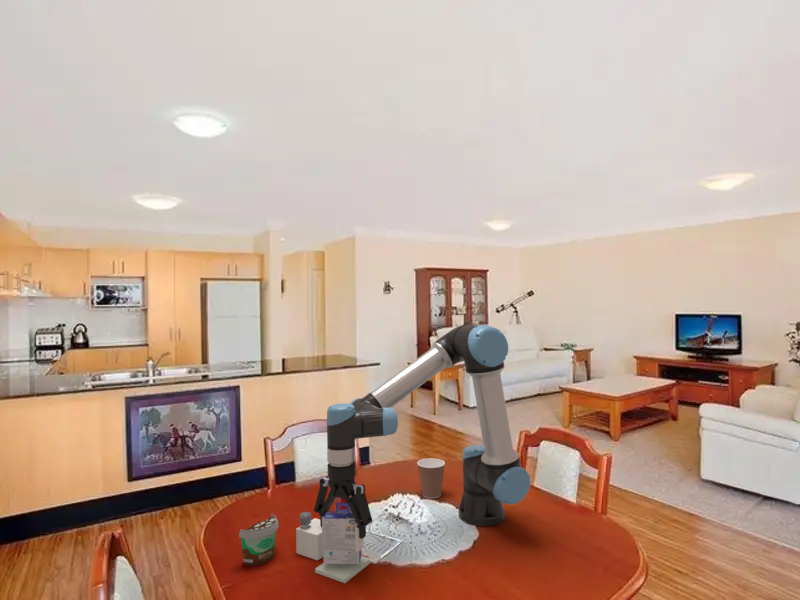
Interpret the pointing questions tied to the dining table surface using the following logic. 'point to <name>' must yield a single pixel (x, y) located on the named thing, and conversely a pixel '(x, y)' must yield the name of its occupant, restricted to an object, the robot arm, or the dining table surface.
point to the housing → (314, 541)
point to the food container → (259, 542)
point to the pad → (342, 570)
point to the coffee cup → (431, 477)
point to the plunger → (305, 519)
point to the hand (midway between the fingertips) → (342, 544)
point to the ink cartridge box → (340, 537)
